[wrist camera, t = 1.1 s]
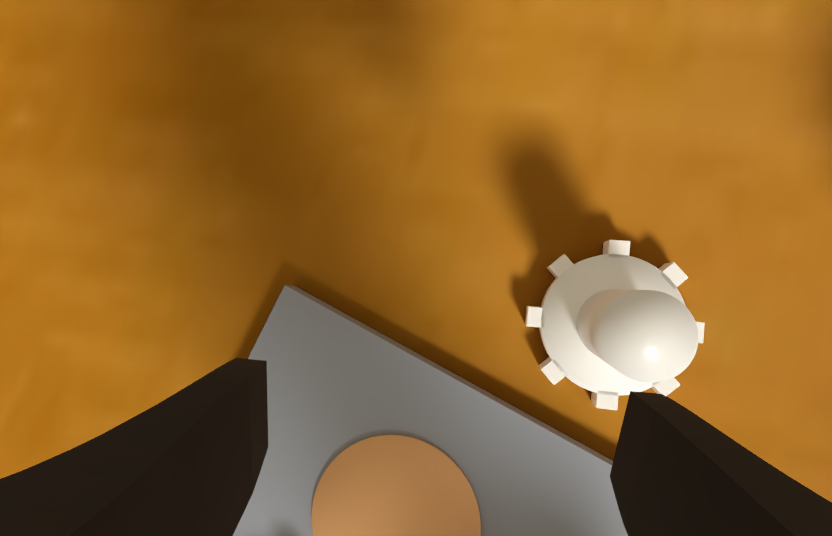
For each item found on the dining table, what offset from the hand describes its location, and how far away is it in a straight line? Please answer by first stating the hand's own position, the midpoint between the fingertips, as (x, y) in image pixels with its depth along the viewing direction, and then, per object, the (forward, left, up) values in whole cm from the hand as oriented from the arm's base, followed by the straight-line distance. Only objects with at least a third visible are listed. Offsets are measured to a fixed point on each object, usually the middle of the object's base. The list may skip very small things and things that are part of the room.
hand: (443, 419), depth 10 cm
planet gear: (-4, -4, -13) cm, 14 cm away
